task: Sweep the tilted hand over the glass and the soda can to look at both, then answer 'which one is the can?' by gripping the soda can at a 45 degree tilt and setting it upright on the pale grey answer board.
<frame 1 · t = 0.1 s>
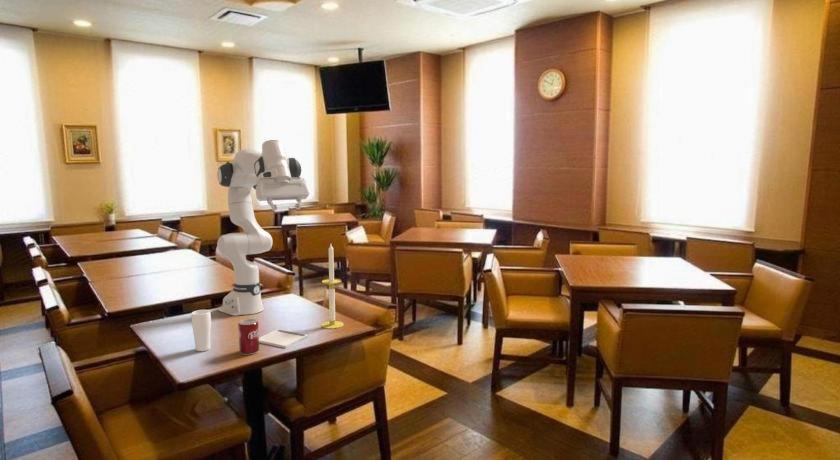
hand: (286, 209, 187), 54 cm above the table, tool tilted 30°, fingers open, 8 cm apart
candle: (332, 325, 218), on the table
answer board: (282, 339, 200), on the table
drinking glass: (203, 349, 189), on the table
soda can: (249, 352, 186), on the table
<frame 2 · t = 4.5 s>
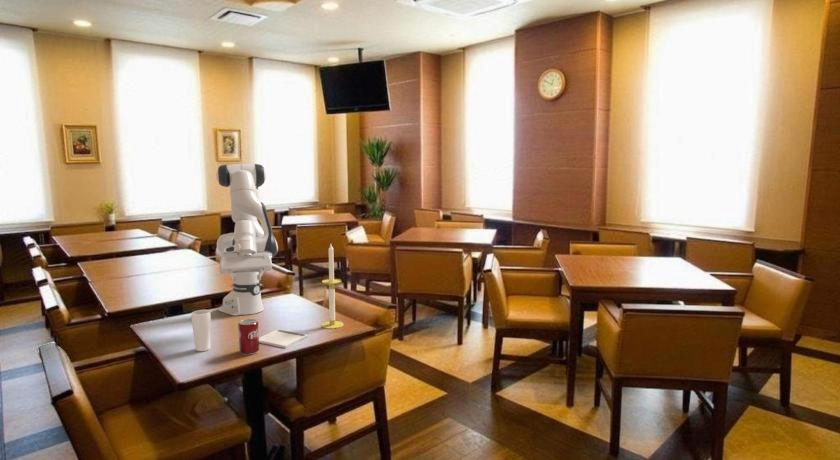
hand: (246, 280, 194), 25 cm above the table, tool tilted 45°, fingers open, 8 cm apart
nothing on the table moved.
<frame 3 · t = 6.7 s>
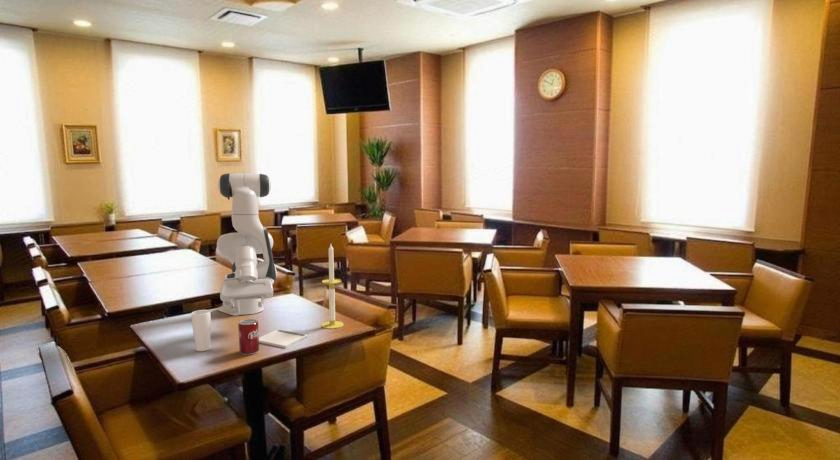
hand: (247, 307, 192), 15 cm above the table, tool tilted 45°, fingers open, 8 cm apart
nothing on the table moved.
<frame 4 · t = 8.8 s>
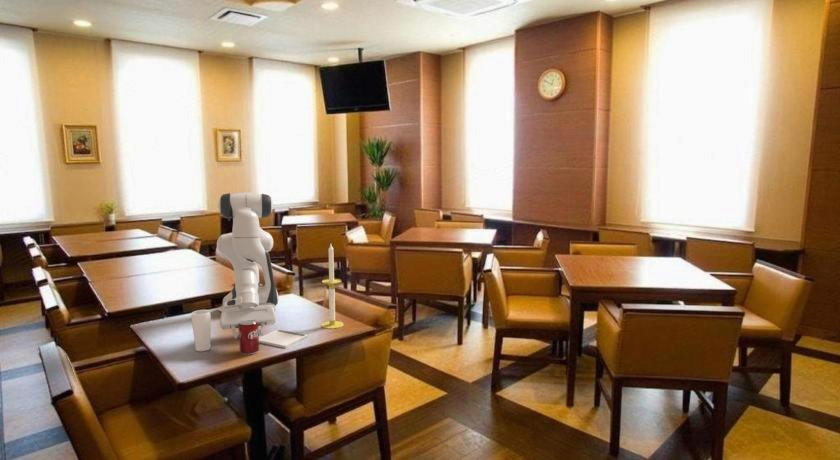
hand: (248, 336, 185), 6 cm above the table, tool tilted 45°, fingers closed on soda can, 7 cm apart
soda can: (249, 352, 186), on the table, touching gripper
everything else where it was.
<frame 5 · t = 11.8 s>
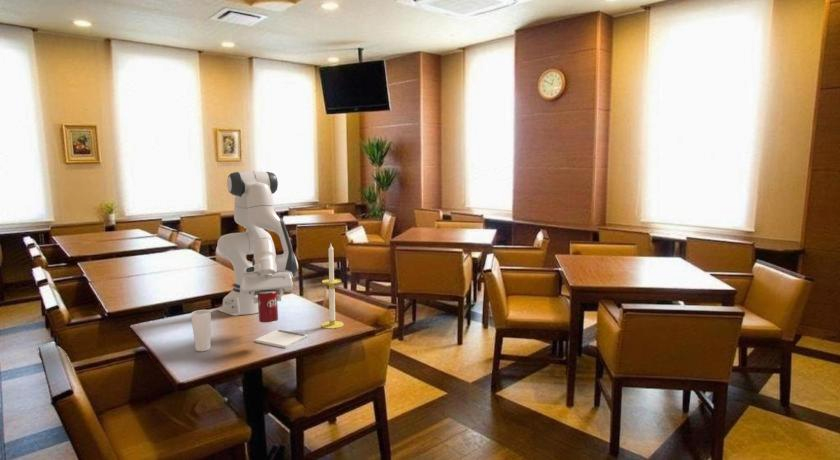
hand: (267, 301, 190), 18 cm above the table, tool tilted 45°, fingers closed on soda can, 7 cm apart
soda can: (268, 321, 192), point 10 cm above the table, touching gripper
everything else where it was.
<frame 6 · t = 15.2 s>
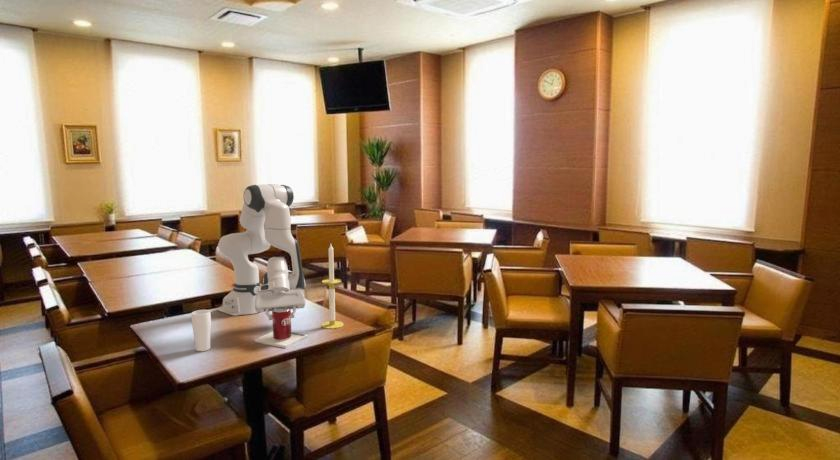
hand: (281, 318, 198), 9 cm above the table, tool tilted 45°, fingers closed on soda can, 7 cm apart
soda can: (282, 338, 199), point 1 cm above the table, touching answer board, gripper
everything else where it was.
when the fingers open (9 cm above the table, at t = 15.3 s): soda can stays where it is, resting on answer board.
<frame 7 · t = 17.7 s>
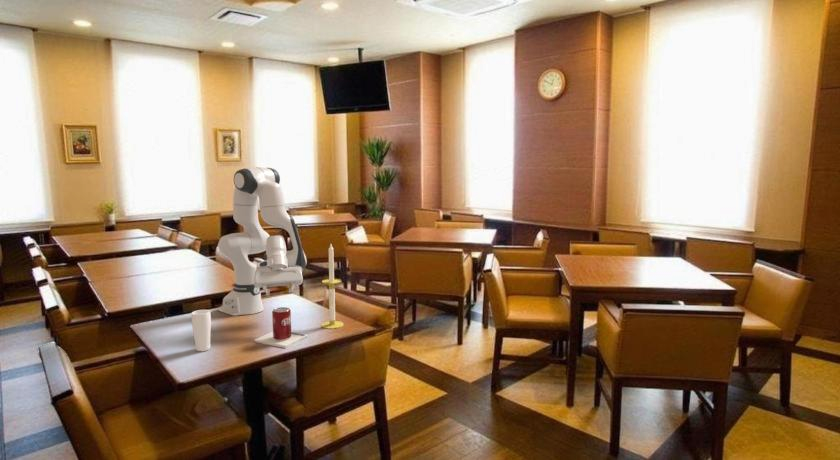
hand: (279, 293, 205), 17 cm above the table, tool tilted 45°, fingers open, 8 cm apart
soda can: (282, 338, 199), point 1 cm above the table, touching answer board
everything else where it was.
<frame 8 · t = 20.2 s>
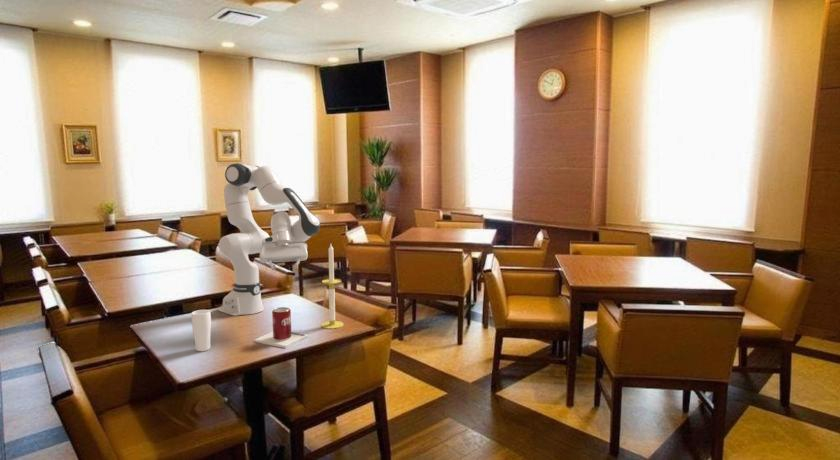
hand: (285, 268, 207), 27 cm above the table, tool tilted 45°, fingers open, 8 cm apart
nothing on the table moved.
at the end: soda can inside the target area on the answer board (1.1 cm from its centre), point 0.8 cm above the answer board's base; soda can tilted 0°; the gripper is holding nothing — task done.
